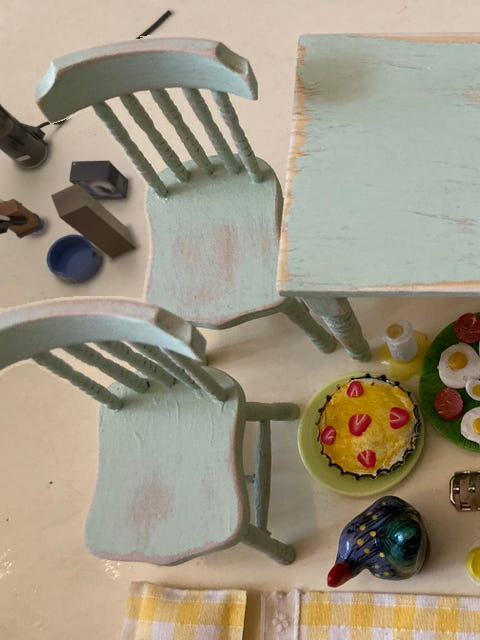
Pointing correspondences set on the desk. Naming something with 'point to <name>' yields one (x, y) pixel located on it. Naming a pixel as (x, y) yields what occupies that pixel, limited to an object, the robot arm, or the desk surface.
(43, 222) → the pill bottle
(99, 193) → the small box
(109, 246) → the brown rectangular block
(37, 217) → the reddish-brown short block
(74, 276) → the bowl
